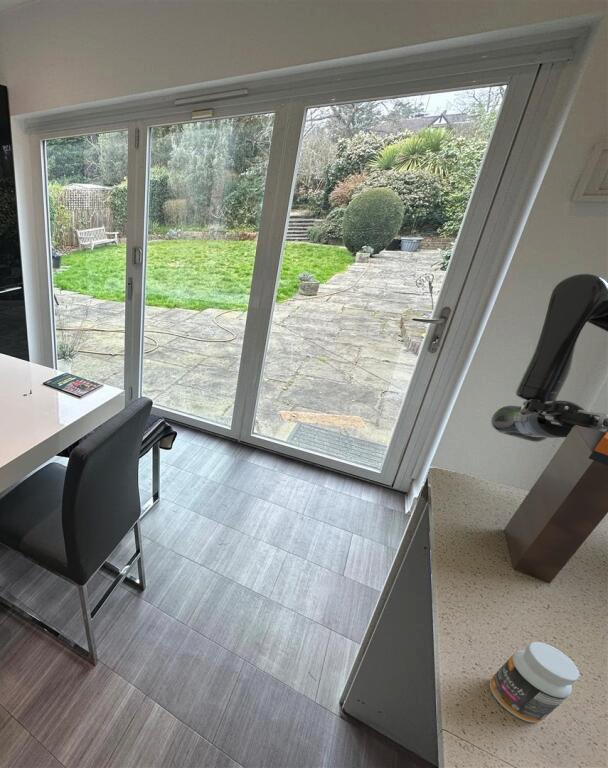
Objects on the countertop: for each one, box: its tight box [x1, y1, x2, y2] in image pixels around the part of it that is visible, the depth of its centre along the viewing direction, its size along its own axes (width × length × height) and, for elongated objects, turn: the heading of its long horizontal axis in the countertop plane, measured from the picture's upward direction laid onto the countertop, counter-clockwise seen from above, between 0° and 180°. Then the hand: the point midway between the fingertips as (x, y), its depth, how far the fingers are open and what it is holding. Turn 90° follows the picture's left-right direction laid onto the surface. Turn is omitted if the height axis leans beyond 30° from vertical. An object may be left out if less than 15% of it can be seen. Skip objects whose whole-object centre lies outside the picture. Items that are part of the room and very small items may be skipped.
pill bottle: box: [489, 641, 580, 723], centre depth 54 cm, size 6×6×10 cm
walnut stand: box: [503, 425, 608, 584], centre depth 73 cm, size 5×12×26 cm, turn 145°
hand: (595, 414), depth 73 cm, fingers open, 8 cm apart
